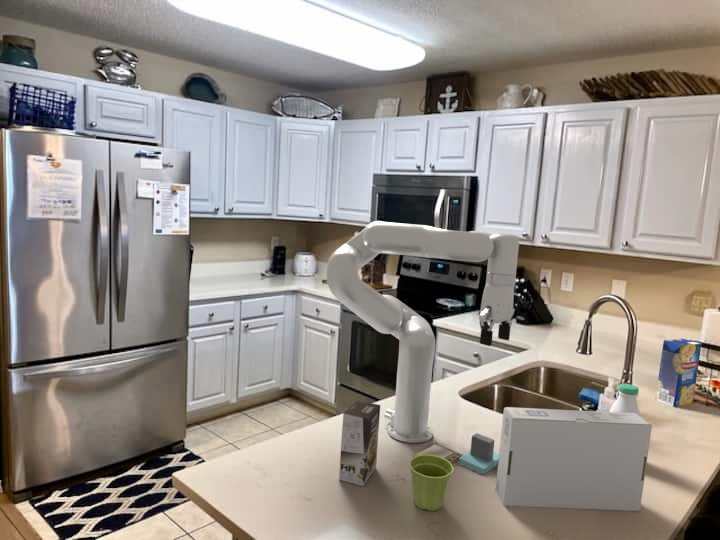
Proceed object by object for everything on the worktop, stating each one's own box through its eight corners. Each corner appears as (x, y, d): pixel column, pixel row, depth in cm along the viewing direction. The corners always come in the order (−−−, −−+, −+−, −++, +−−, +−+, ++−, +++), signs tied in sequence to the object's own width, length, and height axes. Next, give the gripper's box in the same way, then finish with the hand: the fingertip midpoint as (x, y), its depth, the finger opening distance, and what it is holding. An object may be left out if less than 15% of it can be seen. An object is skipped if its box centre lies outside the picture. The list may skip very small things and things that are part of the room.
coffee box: (364, 487, 113) (368, 418, 111) (337, 480, 115) (341, 412, 113) (377, 468, 122) (381, 404, 120) (352, 462, 124) (356, 399, 122)
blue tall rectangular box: (692, 403, 180) (701, 343, 178) (674, 407, 175) (683, 345, 173) (673, 396, 186) (682, 338, 184) (655, 399, 181) (663, 340, 179)
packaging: (624, 495, 117) (636, 413, 114) (640, 511, 110) (652, 424, 108) (495, 490, 115) (503, 406, 113) (503, 506, 109) (512, 418, 107)
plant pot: (459, 508, 107) (462, 470, 106) (425, 521, 102) (428, 481, 101) (430, 486, 115) (433, 450, 114) (397, 497, 110) (400, 460, 109)
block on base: (458, 463, 126) (460, 438, 125) (478, 450, 134) (480, 427, 133) (483, 474, 122) (486, 449, 121) (502, 461, 129) (505, 436, 128)
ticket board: (413, 460, 126) (413, 454, 126) (435, 448, 134) (436, 442, 134) (440, 473, 121) (440, 467, 121) (461, 459, 128) (462, 453, 128)
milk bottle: (599, 457, 135) (608, 385, 132) (608, 448, 140) (617, 378, 138) (630, 468, 130) (641, 393, 127) (639, 458, 135) (649, 387, 133)
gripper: (503, 276, 144) (497, 334, 146) (471, 279, 132) (465, 343, 134) (528, 279, 139) (522, 340, 141) (497, 284, 127) (491, 350, 129)
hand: (494, 341), depth 137 cm, fingers open, 9 cm apart
